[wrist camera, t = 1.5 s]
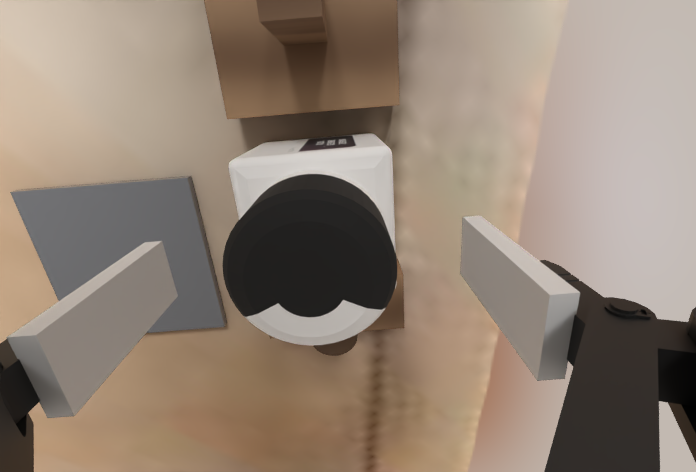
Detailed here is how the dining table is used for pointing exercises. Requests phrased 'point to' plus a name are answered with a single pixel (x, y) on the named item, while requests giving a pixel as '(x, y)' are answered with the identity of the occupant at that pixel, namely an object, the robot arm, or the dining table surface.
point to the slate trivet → (126, 239)
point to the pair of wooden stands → (309, 72)
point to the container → (313, 237)
